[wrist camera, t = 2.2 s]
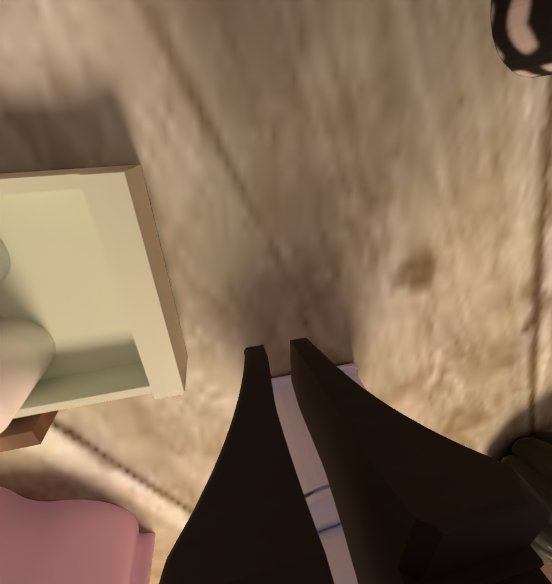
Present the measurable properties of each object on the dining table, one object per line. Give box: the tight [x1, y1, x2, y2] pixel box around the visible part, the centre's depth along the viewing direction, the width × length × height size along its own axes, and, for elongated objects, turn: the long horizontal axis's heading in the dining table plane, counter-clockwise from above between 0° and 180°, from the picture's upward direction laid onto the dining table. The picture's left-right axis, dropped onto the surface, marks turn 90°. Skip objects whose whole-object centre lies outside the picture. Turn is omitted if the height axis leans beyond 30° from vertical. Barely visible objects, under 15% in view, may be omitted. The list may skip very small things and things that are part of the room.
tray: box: [0, 164, 188, 419], centre depth 16 cm, size 13×13×4 cm
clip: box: [0, 486, 155, 584], centre depth 24 cm, size 20×12×7 cm, turn 37°
